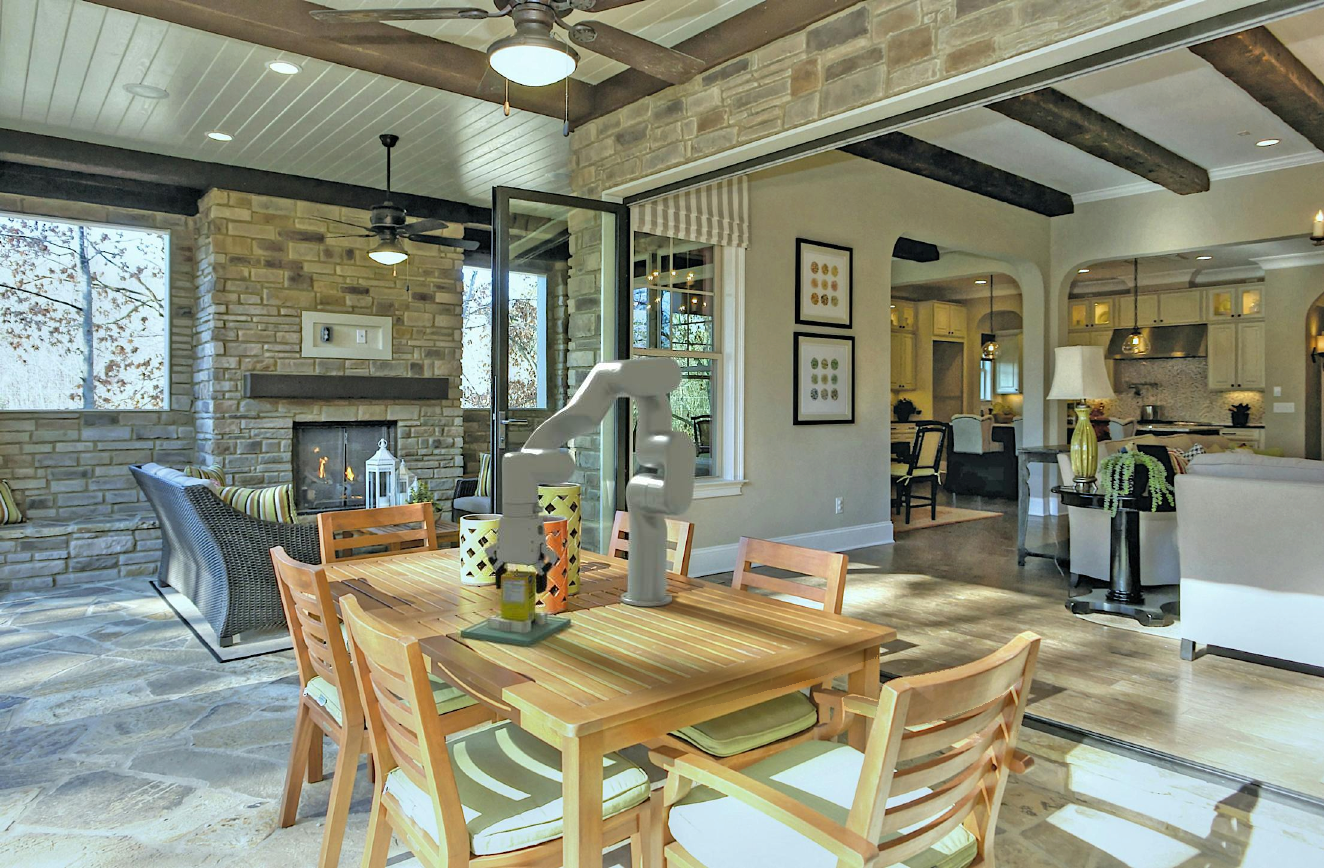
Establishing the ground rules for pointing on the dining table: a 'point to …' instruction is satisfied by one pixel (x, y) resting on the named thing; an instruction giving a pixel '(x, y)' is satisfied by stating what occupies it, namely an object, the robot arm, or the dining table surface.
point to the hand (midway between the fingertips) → (521, 590)
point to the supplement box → (518, 595)
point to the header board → (516, 629)
